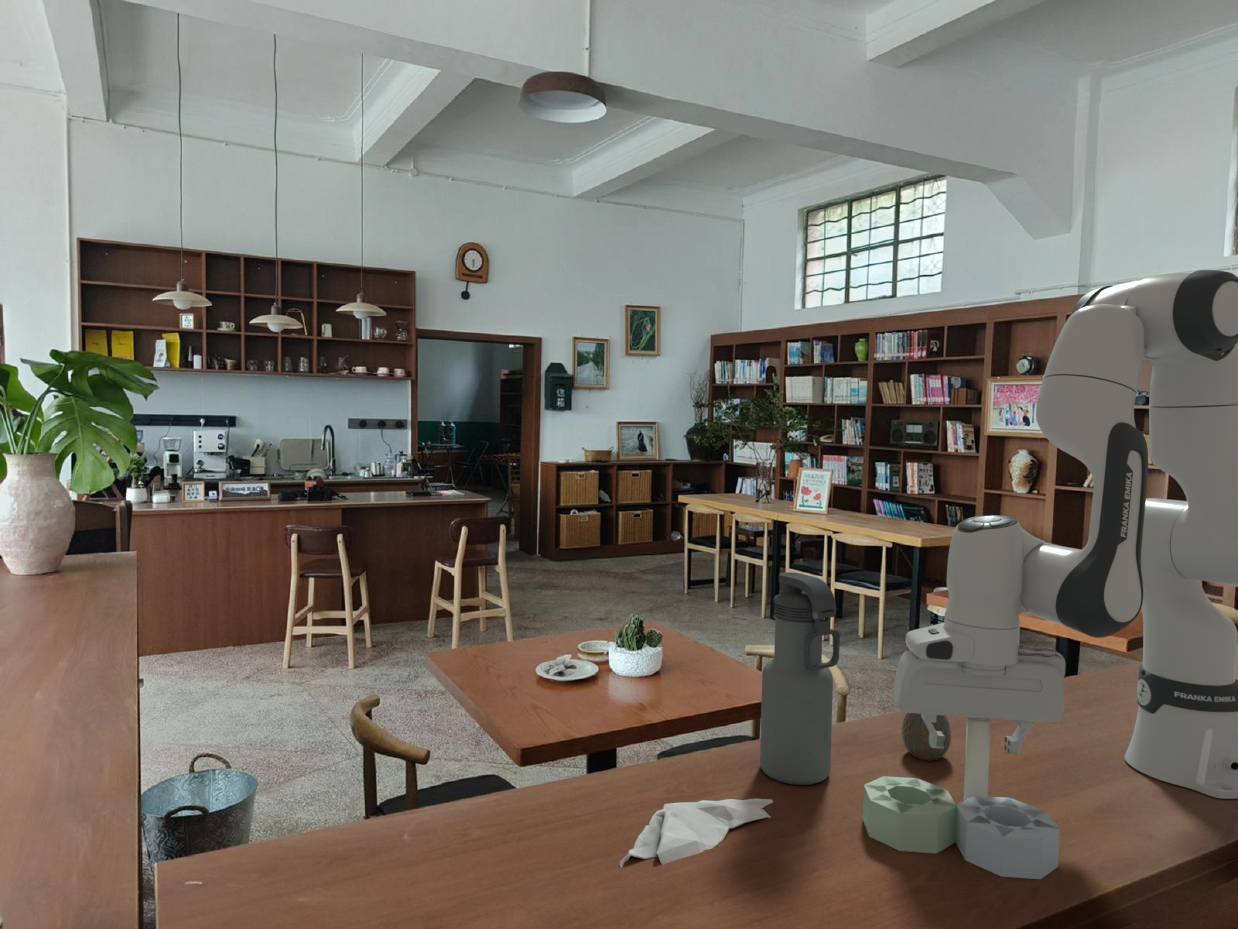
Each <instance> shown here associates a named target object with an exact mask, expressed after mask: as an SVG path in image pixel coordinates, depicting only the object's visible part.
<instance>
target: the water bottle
mask: <svg viewBox="0 0 1238 929" xmlns="http://www.w3.org/2000/svg"><path fill="white" fill-rule="evenodd" d="M778 582H779V583H780V593H778V594H776V595H775V596H774V598H773V602H774V613H773V616H772V617H773V619H774V621H775V622H774V623H775V624H774V650H773V651H774V657H773V658H772V659H770V660H769V661H767V662H766V663H765V666H764V667H763V668H762V673H761V706H760V707H761V708H760V710H761V711H760V713H761V714H760V748H759V750H760V752H759V753H760V754H759V763H760V764H759V765H760V768H761V770H762V771H763V773H764V774H765V775H766V776H768V777H769V778H771V779H773V780H775V781H777V782H781V783H784V784H787V785H796V786H807V785H808V786H809V785H815V784H818V783H820V782H823V781H824V780H826V779H827V778H828V776H829V775H830V772H831V760H832V754H831V753H832V731H833V730H832V727H833V724H832V723H833V722H832V721H833V697H834V696H833V694H834V693H833V691H834V688H833V687H834V676H833V673H832V671H831V669H830V668H832V667H835V666H836V665H837V664H838V662H839V659H840V642H841V641H840V639H841V638H840V632H839V631H838V630H837V629H833V628H831V618H835V617H836V616H837V602H836V599H835V596H834V593H833V591H832V589H831V588H830V586H829V585H828V584H827V582H825V581H824V580H822V579H820V578H819V577H816V576H811V575H809V574H803V573H802V572H801V573H799V572H793V571H792V572H788V571H787V572H786V571H785V572H784V571H783V572H779V574H778ZM828 635H831V636H832V640H833V642H832V646H833V647H832V657H831V659H829V661H827V662H823V660H822V658H823V657H822V656H823V636H828Z"/></svg>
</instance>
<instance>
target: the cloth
mask: <svg viewBox="0 0 1238 929" xmlns="http://www.w3.org/2000/svg"><path fill="white" fill-rule="evenodd" d="M772 803H774V801H773V799H767V798H749V799H744V800H743V799H742V800H741V799H735V798H727V799H721V800H706V799H705V800H703V799H702V800H700V801H699V800H698V801H695V802H694V801H693V802H692V801H691V802H689V801H688V802H684V801H683V802H673V803H672V802H671V803H665V804H663V808H662V809H659V810H656V812H655V813H654V814H653V815H652V817H651V818H650V821H649V822H648V823H649V824H648V825H645V826H644V829H643V830H642V832H640V834H638V837H637V838H636V840H635V842H634V845H633V848H632V849H629V850H628V851H627V854H626V855H624V857H623V858H622V859H621V860H620V861H619V867H620V869H622V868H623V866H624V865H625V863H626V862H627V861H629V859H630V857H634V858H639V859H641V860H649V859H653V858H656V857H658V859H659V861H660V864H661V865H666V864H668V863H672V862H674V861H677V860H680V859H684V858H688V857H690V856H695V855H697V854H701V853H703V852H704V851H706V850H711V849H714V848H716V847H717V846H718V845H719V844H721V843H722V842H723V840H724V839H726V838H725V837H726V836H727V834H728V832H729V830H730V829H735V828H737V827H739V826H741V825H745V824H748V823H750V822H751V823H752V822H753V821H757V820H762V819H767V818H769V819H770V818H771V816H770V815H769V813H768V812H766V810H765V809H763V808H765V807H766V806H768V805H770V804H772Z"/></svg>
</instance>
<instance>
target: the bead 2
mask: <svg viewBox="0 0 1238 929" xmlns="http://www.w3.org/2000/svg"><path fill="white" fill-rule="evenodd" d="M956 805H957V816H956V841H955V843H954V844H956V846H957V848H958V850H959V851H960V853H961V855H962V857H963V859H964V860H965V861H966V862H968V863H970V864H973V865H974V866H977V867H980V868H982V869H984V870H986V871H988V872H990V873H993V874H995V875H997V876H999V877H1003V878H1015V879H1017V878H1019V879H1027V880H1031V879H1033V880H1042V879H1043V878H1045V877H1046V876H1048V875H1049V874H1050V873H1052V872H1053V871H1055V870H1056V869H1057V868H1058V867H1059V850H1060V832H1061V831H1060V830H1061V829H1060V827H1059V825H1057V823H1056V822H1055V821H1054V820H1053V819H1052V817H1051V816H1050V815H1049V814H1048V812H1046V810H1044V809H1041V808H1039V807H1036V806H1033V805H1030V804H1027V803H1025V802H1023V801H1019V800H1017V799H1015V798H1012V797H1005V796H1004V797H1003V796H973V797H971V798H969V799H967V800H965V801H964V800H963V801H962V802H959V803H958V804H956Z"/></svg>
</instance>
